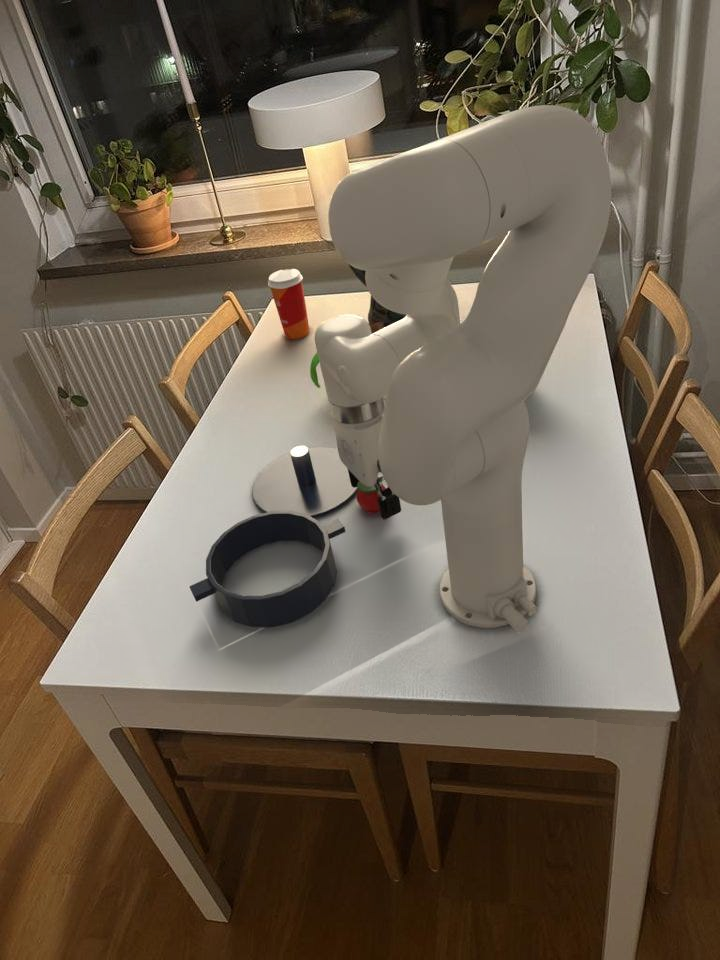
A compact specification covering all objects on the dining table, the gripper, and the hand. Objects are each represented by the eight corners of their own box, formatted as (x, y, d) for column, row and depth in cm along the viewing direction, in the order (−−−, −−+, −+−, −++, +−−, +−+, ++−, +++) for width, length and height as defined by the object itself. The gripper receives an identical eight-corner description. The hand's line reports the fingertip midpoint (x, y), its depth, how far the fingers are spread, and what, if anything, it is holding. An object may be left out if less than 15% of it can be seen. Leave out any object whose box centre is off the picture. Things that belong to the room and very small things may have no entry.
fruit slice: (346, 352, 156) (342, 331, 153) (352, 337, 161) (348, 316, 158) (385, 350, 154) (381, 328, 151) (389, 335, 159) (386, 313, 156)
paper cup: (284, 326, 171) (271, 269, 162) (316, 324, 169) (304, 266, 161) (277, 343, 165) (262, 284, 156) (310, 340, 163) (297, 281, 155)
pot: (375, 583, 102) (368, 553, 99) (222, 659, 96) (209, 629, 92) (322, 517, 115) (315, 488, 112) (185, 580, 109) (172, 551, 105)
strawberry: (395, 511, 114) (390, 482, 110) (368, 523, 112) (362, 495, 109) (380, 495, 117) (375, 467, 114) (354, 507, 116) (348, 479, 112)
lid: (383, 490, 118) (377, 455, 114) (280, 539, 113) (269, 504, 108) (332, 439, 132) (324, 406, 127) (237, 481, 126) (226, 447, 122)
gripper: (307, 389, 108) (330, 481, 118) (361, 441, 95) (381, 539, 105) (352, 371, 110) (370, 463, 120) (411, 419, 97) (426, 517, 107)
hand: (375, 498), depth 113 cm, fingers open, 9 cm apart
